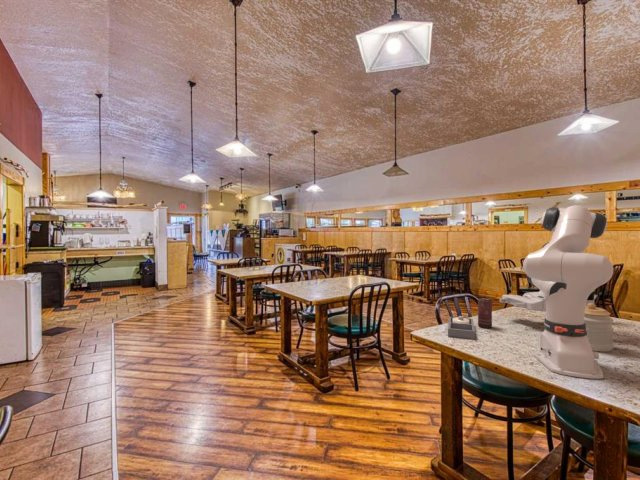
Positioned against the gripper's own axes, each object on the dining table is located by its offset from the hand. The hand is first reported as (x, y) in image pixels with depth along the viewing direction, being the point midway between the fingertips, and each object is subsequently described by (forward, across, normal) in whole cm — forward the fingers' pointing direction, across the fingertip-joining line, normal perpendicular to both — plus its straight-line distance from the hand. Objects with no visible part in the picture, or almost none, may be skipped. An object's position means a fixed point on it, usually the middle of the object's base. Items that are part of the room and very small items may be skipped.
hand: (507, 302), depth 159 cm
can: (+13, 0, +11) cm, 17 cm away
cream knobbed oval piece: (+25, -1, +10) cm, 27 cm away
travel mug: (-20, +22, +11) cm, 32 cm away
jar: (-10, +33, +11) cm, 36 cm away
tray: (+28, +4, +11) cm, 30 cm away
